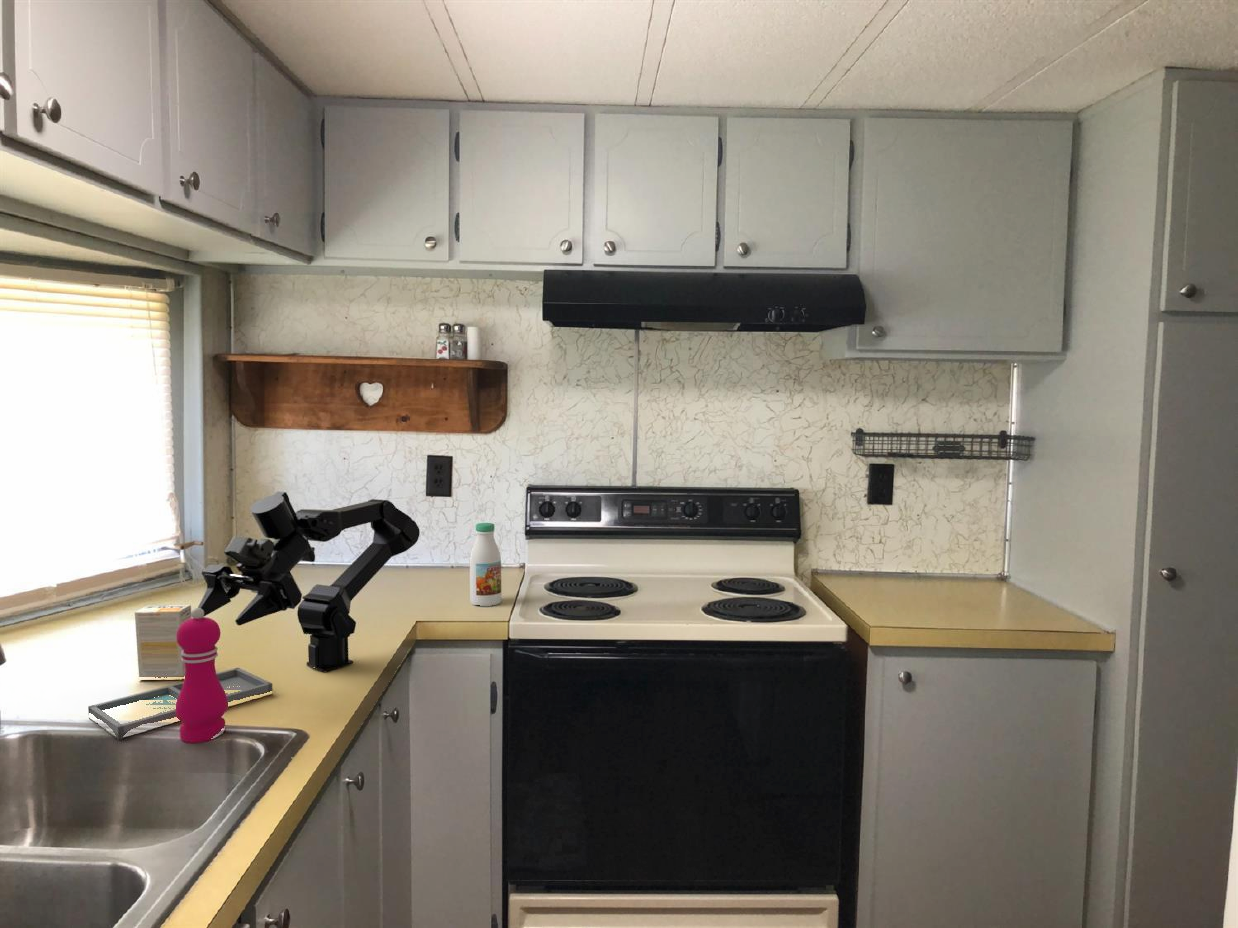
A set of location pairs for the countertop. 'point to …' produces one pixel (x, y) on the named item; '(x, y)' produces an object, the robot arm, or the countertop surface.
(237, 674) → the sorting tray
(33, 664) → the countertop surface
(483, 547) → the milk bottle
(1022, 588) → the countertop surface
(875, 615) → the countertop surface
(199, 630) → the pepper mill
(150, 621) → the supplement box
